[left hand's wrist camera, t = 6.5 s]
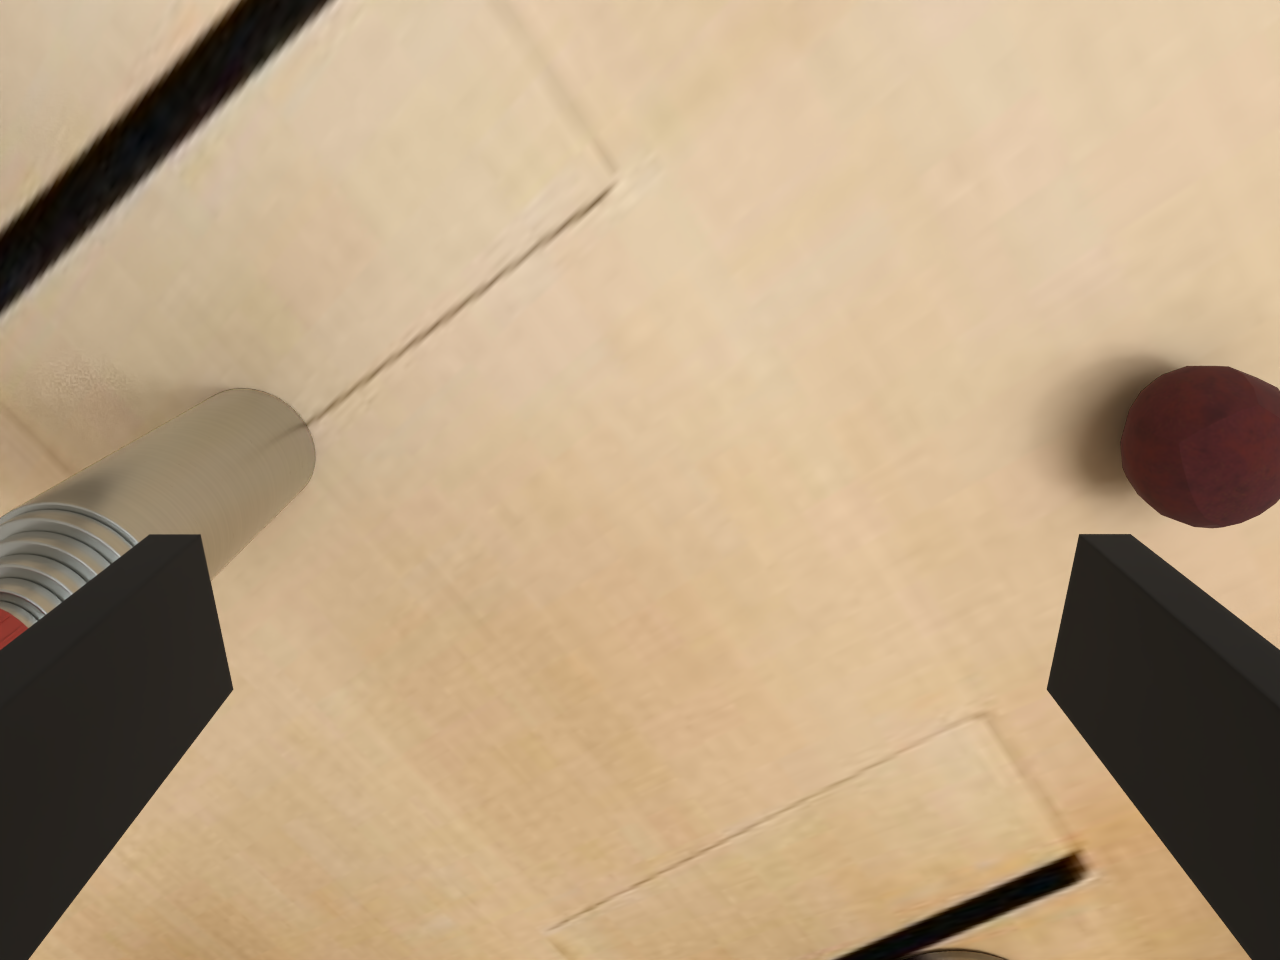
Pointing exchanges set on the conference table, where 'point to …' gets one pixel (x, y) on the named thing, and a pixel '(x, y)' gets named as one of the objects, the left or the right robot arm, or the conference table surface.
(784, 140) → the conference table surface
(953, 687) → the conference table surface
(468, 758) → the conference table surface
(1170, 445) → the dark red plum
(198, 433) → the bottle
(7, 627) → the cap
